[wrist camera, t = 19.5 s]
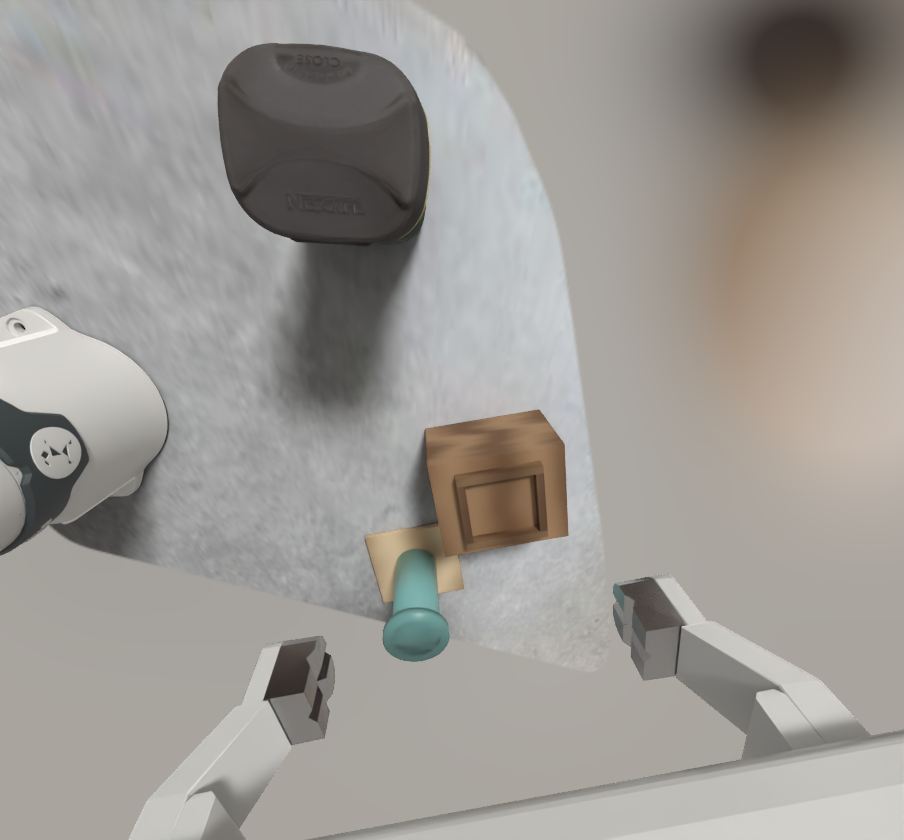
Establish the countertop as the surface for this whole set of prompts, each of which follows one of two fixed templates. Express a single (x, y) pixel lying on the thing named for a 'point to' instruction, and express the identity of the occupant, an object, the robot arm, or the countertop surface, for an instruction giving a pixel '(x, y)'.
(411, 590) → the stopper cap
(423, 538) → the cork mat
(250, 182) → the coffee jar
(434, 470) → the walnut box
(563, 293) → the countertop surface
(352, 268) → the countertop surface
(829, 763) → the robot arm
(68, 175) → the countertop surface
